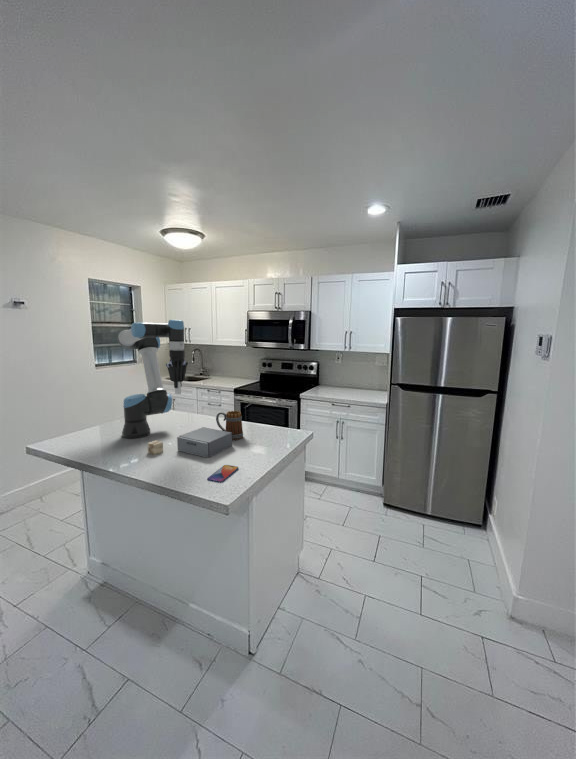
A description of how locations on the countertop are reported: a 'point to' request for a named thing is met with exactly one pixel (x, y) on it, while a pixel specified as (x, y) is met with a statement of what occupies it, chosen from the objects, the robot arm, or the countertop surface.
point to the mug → (232, 423)
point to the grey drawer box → (211, 439)
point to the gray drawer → (192, 446)
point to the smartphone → (223, 473)
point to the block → (155, 447)
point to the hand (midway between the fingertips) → (178, 393)
